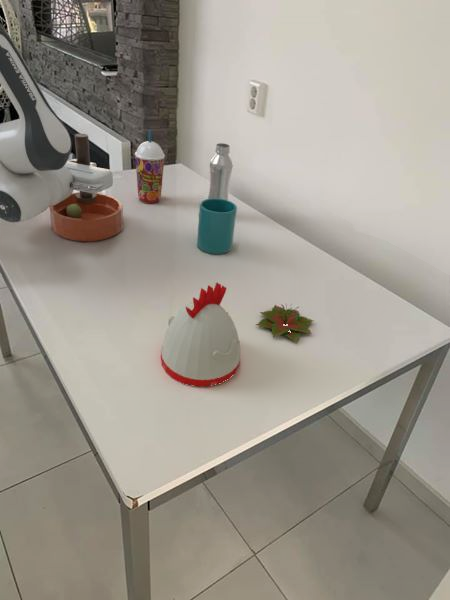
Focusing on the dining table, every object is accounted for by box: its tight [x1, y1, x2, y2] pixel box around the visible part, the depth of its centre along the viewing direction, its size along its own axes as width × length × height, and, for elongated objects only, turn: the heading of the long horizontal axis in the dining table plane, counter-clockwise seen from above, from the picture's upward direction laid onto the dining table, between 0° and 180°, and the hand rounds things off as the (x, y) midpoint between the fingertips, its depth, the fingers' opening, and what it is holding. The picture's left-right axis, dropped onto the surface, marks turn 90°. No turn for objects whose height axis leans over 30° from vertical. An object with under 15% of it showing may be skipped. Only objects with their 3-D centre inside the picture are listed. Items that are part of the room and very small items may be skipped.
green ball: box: [66, 204, 82, 219], centre depth 118 cm, size 4×4×4 cm
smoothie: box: [134, 130, 166, 204], centre depth 130 cm, size 8×8×20 cm
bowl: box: [48, 191, 124, 243], centre depth 116 cm, size 18×18×6 cm
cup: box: [196, 198, 238, 255], centre depth 113 cm, size 9×12×11 cm
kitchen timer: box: [160, 282, 241, 387], centre depth 76 cm, size 14×14×15 cm
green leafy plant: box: [255, 303, 314, 344], centre depth 89 cm, size 12×12×5 cm
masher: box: [74, 133, 97, 205], centre depth 109 cm, size 5×5×16 cm
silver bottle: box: [207, 142, 234, 201], centre depth 126 cm, size 6×7×20 cm
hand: (85, 164), depth 109 cm, fingers closed on masher, 3 cm apart
